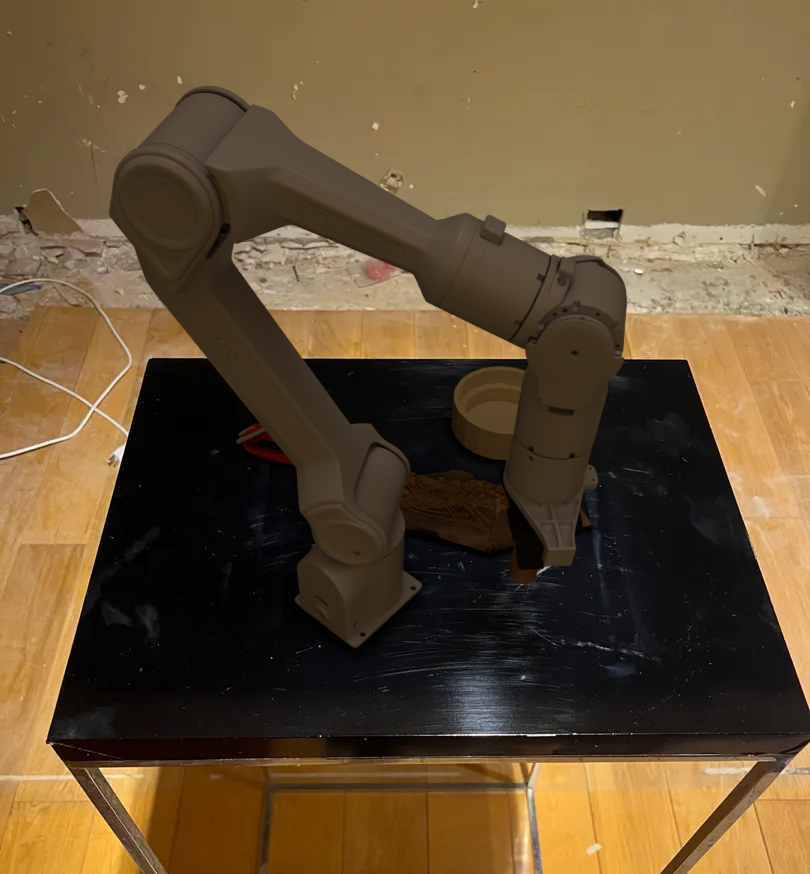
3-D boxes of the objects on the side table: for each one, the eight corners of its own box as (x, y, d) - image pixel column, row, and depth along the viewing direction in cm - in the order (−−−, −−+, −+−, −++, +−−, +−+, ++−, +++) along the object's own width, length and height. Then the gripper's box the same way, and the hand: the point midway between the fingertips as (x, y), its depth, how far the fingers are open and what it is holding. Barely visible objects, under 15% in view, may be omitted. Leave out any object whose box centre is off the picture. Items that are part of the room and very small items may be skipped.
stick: (525, 589, 70) (542, 519, 63) (503, 574, 71) (517, 503, 64) (542, 573, 71) (560, 502, 65) (519, 558, 72) (535, 487, 66)
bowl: (511, 479, 88) (516, 448, 85) (431, 431, 93) (433, 400, 89) (569, 427, 94) (576, 396, 91) (490, 384, 99) (495, 353, 95)
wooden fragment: (589, 486, 88) (591, 479, 87) (593, 567, 81) (595, 560, 80) (349, 464, 89) (349, 457, 88) (332, 542, 82) (332, 535, 81)
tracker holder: (318, 394, 95) (375, 421, 88) (319, 430, 97) (374, 458, 91) (226, 419, 87) (281, 450, 81) (230, 457, 90) (283, 490, 83)
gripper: (634, 505, 54) (592, 622, 65) (588, 366, 64) (558, 488, 74) (528, 508, 54) (503, 625, 64) (498, 368, 63) (480, 490, 74)
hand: (527, 552), depth 69 cm, fingers closed on stick, 2 cm apart
